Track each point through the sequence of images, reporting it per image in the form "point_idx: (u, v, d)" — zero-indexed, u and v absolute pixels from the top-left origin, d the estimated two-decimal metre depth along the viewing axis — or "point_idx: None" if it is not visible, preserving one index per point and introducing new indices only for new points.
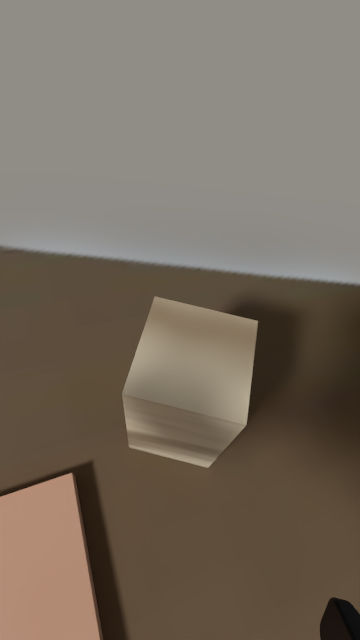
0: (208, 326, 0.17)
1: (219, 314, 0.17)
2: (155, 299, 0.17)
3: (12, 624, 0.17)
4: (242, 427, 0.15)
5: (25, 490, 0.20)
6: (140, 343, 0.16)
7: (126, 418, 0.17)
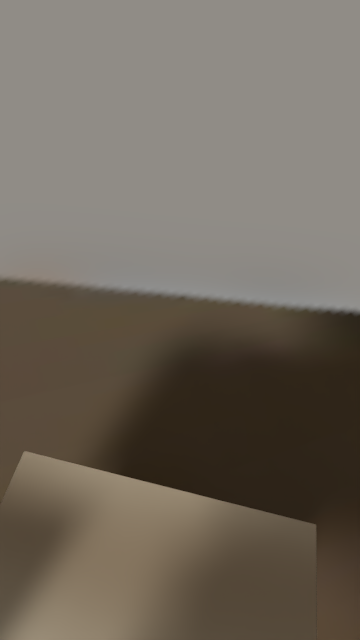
0: (171, 560, 0.06)
1: (205, 507, 0.06)
2: (24, 462, 0.06)
3: None
4: None
5: None
6: None
7: None
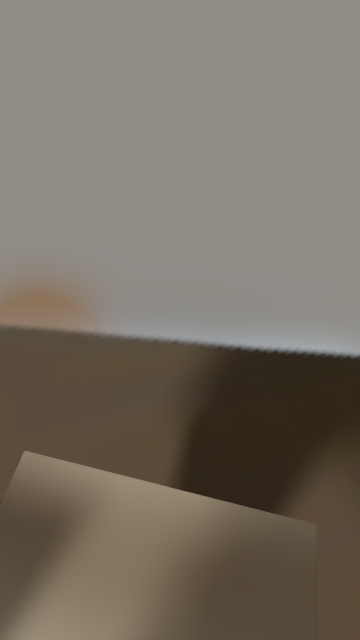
0: (171, 559, 0.06)
1: (205, 506, 0.06)
2: (24, 461, 0.06)
3: None
4: None
5: None
6: None
7: None
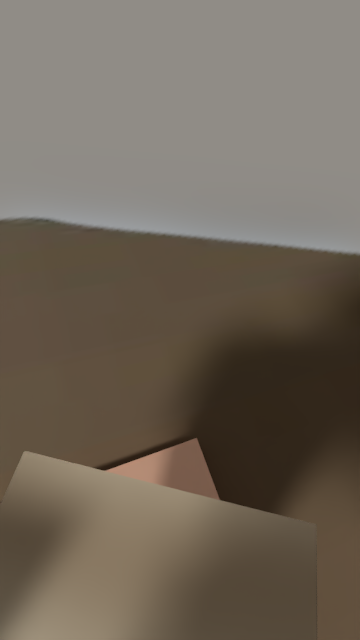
0: (171, 559, 0.06)
1: (205, 507, 0.06)
2: (24, 462, 0.06)
3: None
4: None
5: (156, 454, 0.20)
6: None
7: None
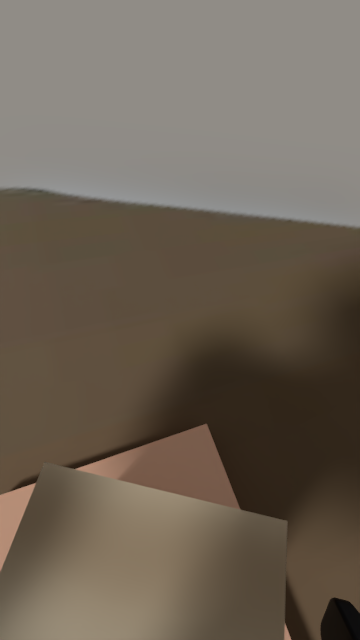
0: (167, 550, 0.07)
1: (195, 507, 0.07)
2: (44, 471, 0.07)
3: None
4: None
5: (160, 442, 0.18)
6: None
7: None
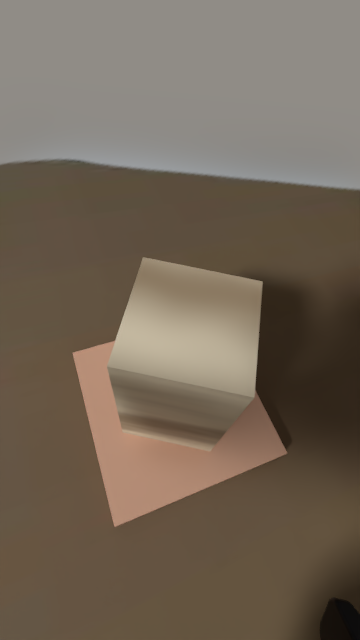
0: (206, 288, 0.15)
1: (218, 275, 0.15)
2: (144, 260, 0.15)
3: None
4: (249, 401, 0.13)
5: None
6: (127, 309, 0.14)
7: (115, 397, 0.15)
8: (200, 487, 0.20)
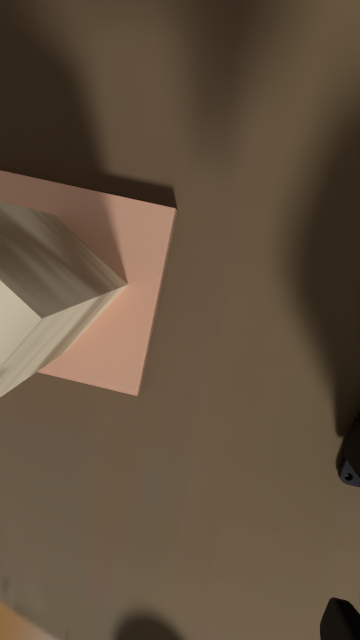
0: None
1: None
2: None
3: None
4: (47, 317, 0.10)
5: None
6: None
7: (1, 395, 0.14)
8: (151, 313, 0.19)
